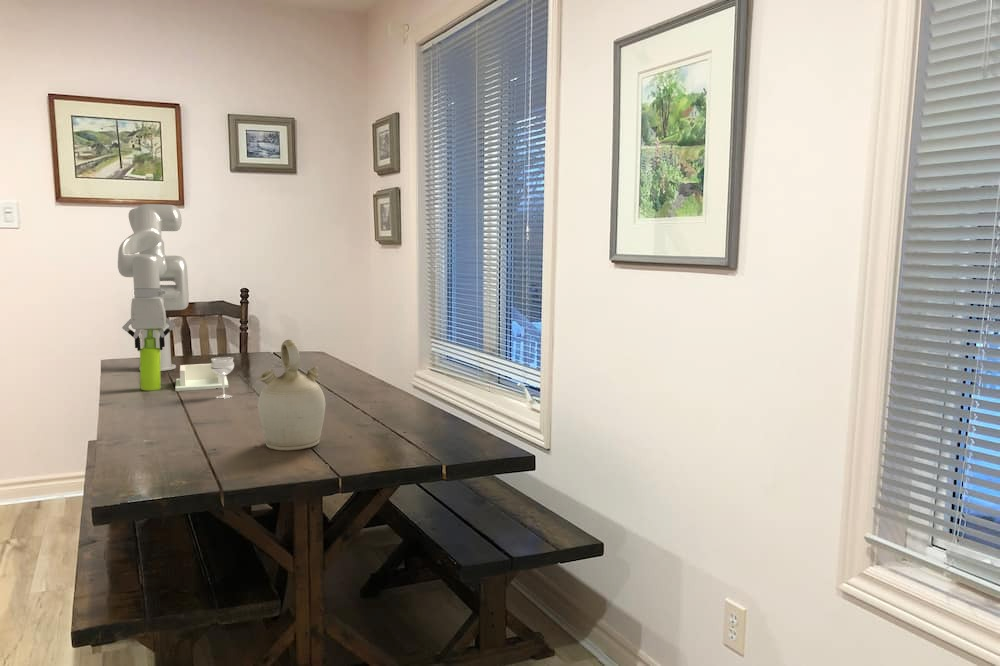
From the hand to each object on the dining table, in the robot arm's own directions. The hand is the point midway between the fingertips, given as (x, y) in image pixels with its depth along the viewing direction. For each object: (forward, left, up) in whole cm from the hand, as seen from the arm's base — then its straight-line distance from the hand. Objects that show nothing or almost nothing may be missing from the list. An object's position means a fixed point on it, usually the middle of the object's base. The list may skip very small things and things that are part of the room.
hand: (150, 349), depth 240 cm
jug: (+85, +34, -13) cm, 92 cm away
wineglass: (+21, +21, -13) cm, 32 cm away
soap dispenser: (0, 0, -13) cm, 13 cm away
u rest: (-3, +15, -13) cm, 20 cm away
